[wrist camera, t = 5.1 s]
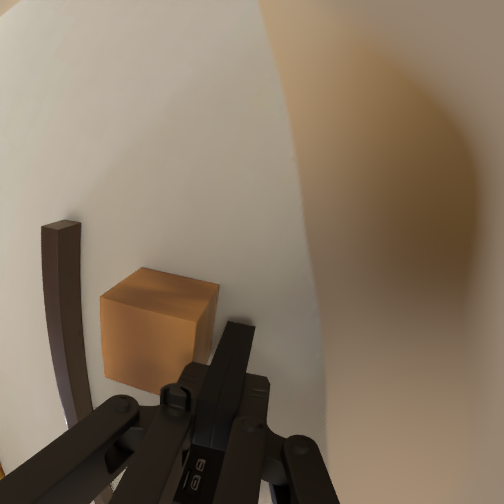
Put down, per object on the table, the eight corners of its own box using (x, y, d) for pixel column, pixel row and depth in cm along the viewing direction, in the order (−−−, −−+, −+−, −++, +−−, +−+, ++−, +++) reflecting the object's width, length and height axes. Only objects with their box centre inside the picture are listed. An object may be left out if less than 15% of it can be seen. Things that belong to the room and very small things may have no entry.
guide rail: (80, 222, 19) (57, 229, 16) (123, 522, 30) (117, 534, 27) (64, 219, 19) (40, 226, 16) (113, 518, 30) (107, 530, 27)
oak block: (219, 284, 19) (196, 322, 14) (210, 355, 20) (188, 404, 15) (141, 266, 19) (99, 296, 14) (138, 336, 20) (104, 377, 15)
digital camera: (210, 502, 25) (196, 555, 18) (160, 482, 25) (139, 534, 18) (253, 454, 22) (242, 524, 15) (190, 430, 22) (164, 497, 15)
